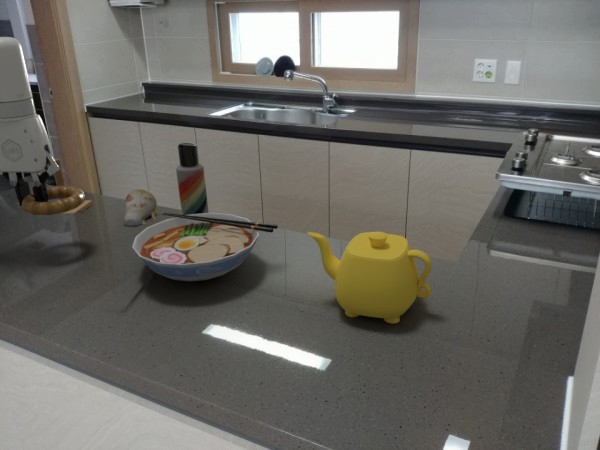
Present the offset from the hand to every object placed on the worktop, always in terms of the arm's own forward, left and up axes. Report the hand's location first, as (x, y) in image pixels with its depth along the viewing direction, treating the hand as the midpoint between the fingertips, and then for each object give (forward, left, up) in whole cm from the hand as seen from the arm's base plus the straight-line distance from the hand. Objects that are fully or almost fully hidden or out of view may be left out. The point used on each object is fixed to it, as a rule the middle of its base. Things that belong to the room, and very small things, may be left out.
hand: (34, 202), depth 105 cm
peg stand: (-9, +25, -12) cm, 29 cm away
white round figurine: (+13, +18, -12) cm, 25 cm away
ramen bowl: (+34, -5, -12) cm, 36 cm away
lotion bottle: (+28, +13, -12) cm, 33 cm away
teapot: (+65, -15, -12) cm, 68 cm away
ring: (+4, 0, +1) cm, 4 cm away
